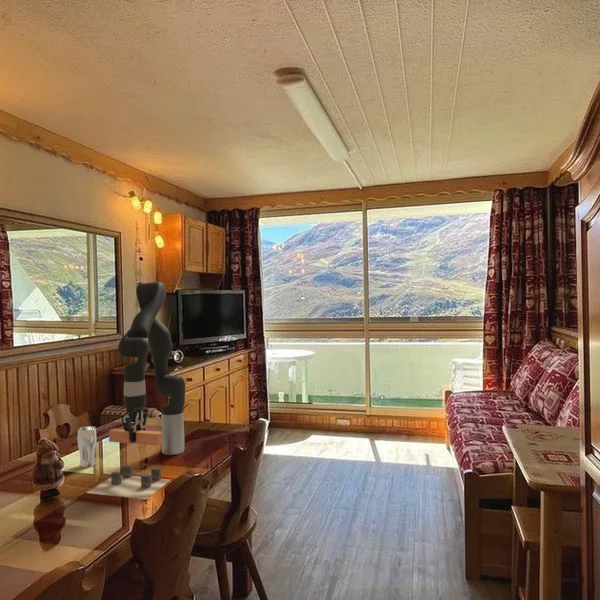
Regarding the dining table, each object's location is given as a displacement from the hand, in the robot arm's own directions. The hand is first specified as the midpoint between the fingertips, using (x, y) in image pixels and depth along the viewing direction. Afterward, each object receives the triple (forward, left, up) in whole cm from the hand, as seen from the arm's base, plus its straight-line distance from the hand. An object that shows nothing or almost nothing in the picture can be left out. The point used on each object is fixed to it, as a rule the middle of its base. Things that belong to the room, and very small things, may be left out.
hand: (135, 440), depth 170 cm
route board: (+4, 0, -16) cm, 17 cm away
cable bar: (0, 0, -1) cm, 1 cm away
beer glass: (-13, -31, -16) cm, 37 cm away
